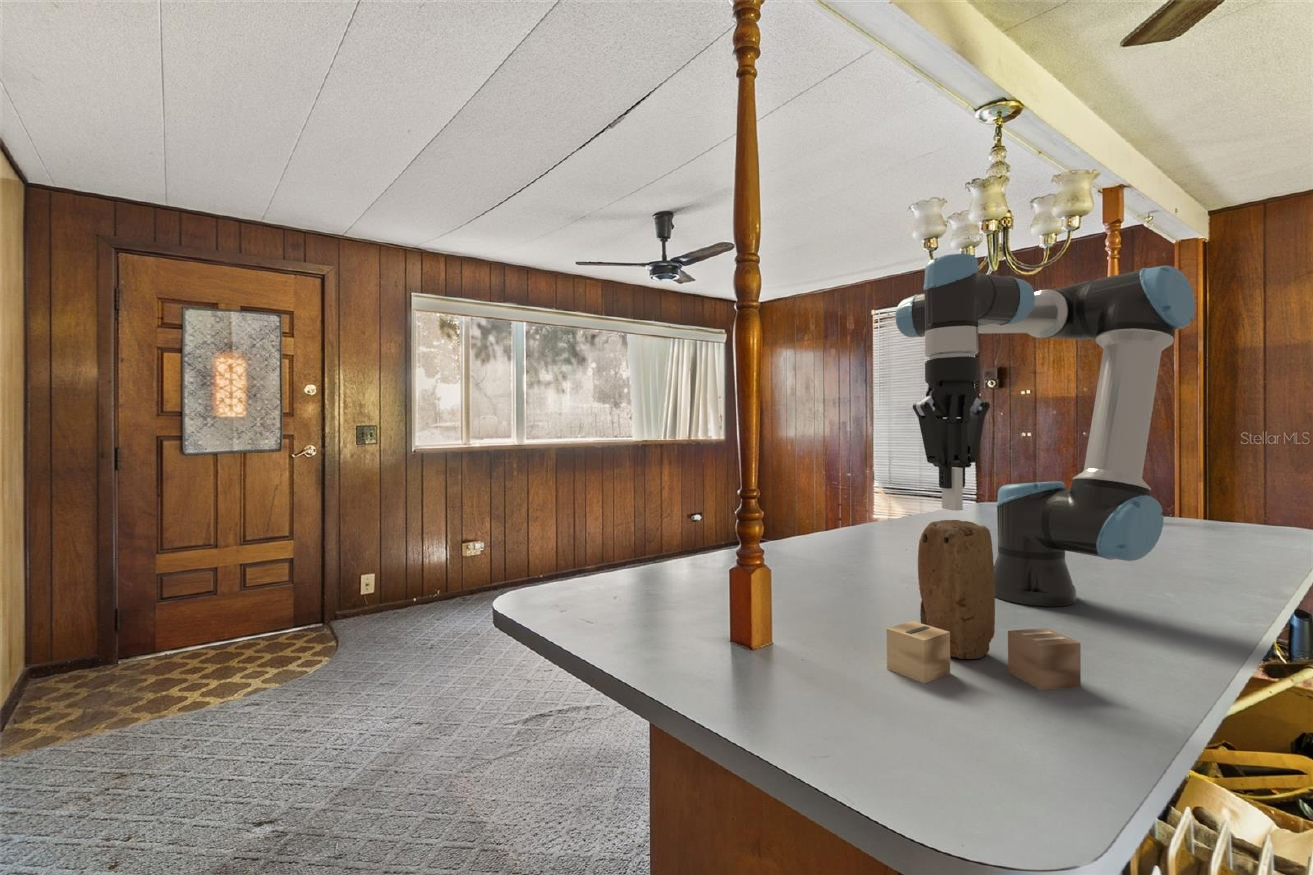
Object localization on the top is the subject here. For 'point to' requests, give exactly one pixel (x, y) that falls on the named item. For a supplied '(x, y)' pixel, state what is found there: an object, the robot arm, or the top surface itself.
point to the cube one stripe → (918, 651)
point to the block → (958, 584)
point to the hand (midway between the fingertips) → (952, 509)
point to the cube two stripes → (1044, 658)
